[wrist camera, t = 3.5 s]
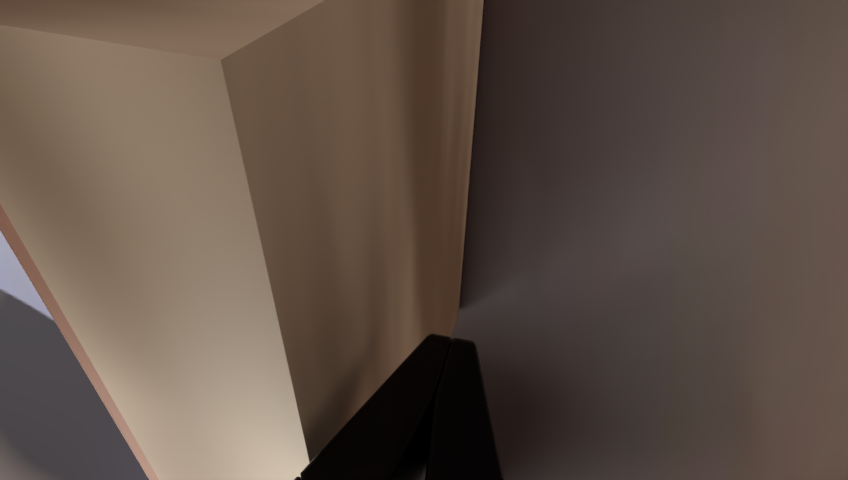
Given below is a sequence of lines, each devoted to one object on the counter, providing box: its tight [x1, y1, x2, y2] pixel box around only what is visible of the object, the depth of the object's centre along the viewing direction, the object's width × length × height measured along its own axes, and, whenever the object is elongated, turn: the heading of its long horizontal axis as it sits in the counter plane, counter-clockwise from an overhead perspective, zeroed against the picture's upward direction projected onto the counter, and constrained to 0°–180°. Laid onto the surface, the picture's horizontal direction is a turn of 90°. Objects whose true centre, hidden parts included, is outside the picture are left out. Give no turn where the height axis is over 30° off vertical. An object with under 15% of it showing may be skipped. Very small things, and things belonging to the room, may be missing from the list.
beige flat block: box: [0, 0, 484, 480], centre depth 12 cm, size 4×12×9 cm, turn 179°
